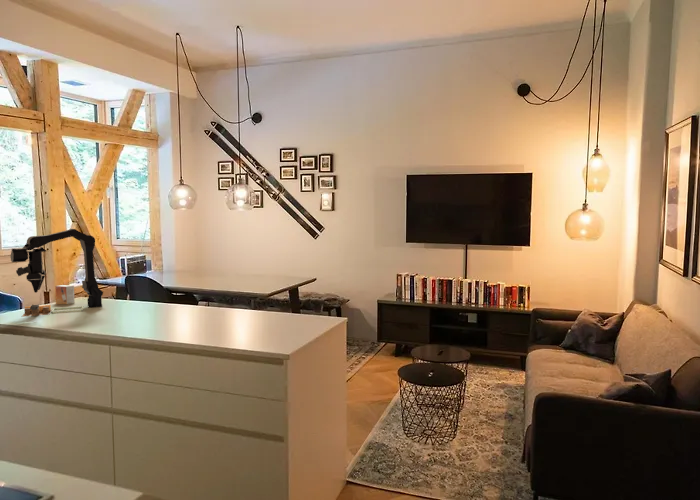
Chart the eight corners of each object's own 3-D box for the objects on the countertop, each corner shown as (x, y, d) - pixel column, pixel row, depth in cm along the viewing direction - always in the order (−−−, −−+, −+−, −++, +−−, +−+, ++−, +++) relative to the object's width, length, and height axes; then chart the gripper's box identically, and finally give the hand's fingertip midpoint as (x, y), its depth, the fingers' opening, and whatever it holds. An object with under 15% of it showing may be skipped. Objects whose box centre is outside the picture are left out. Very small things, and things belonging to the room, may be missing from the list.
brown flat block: (53, 310, 266) (52, 303, 266) (49, 315, 253) (48, 308, 253) (26, 312, 262) (26, 304, 261) (21, 317, 248) (20, 309, 248)
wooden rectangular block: (50, 311, 262) (50, 304, 262) (49, 312, 259) (49, 305, 259) (26, 312, 258) (25, 305, 258) (24, 314, 255) (24, 307, 254)
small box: (55, 304, 284) (54, 286, 283) (63, 302, 289) (63, 284, 288) (66, 305, 282) (66, 286, 281) (75, 303, 287) (74, 285, 286)
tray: (83, 308, 272) (83, 306, 271) (82, 312, 262) (82, 309, 262) (53, 310, 266) (53, 308, 266) (51, 314, 257) (51, 311, 257)
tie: (38, 307, 252) (38, 304, 252) (36, 309, 246) (36, 306, 246) (32, 307, 251) (31, 304, 251) (29, 310, 245) (29, 307, 245)
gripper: (20, 259, 261) (21, 289, 262) (13, 263, 244) (15, 295, 245) (44, 258, 266) (46, 288, 267) (40, 262, 249) (41, 293, 250)
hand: (37, 291), depth 257 cm, fingers open, 9 cm apart
